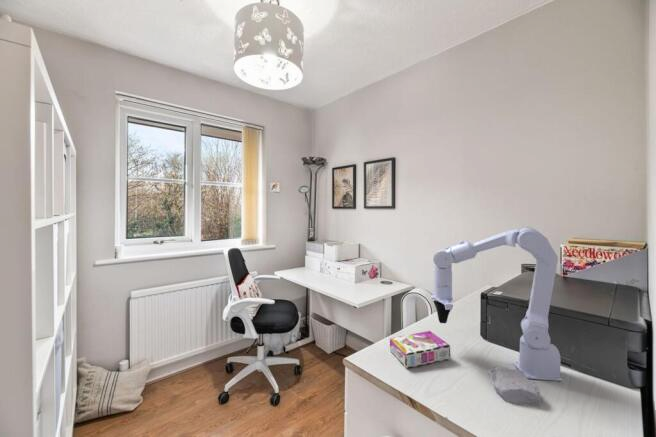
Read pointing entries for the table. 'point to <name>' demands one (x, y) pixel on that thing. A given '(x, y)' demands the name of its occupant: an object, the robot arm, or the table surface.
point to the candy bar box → (419, 349)
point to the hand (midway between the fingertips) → (442, 322)
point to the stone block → (514, 386)
